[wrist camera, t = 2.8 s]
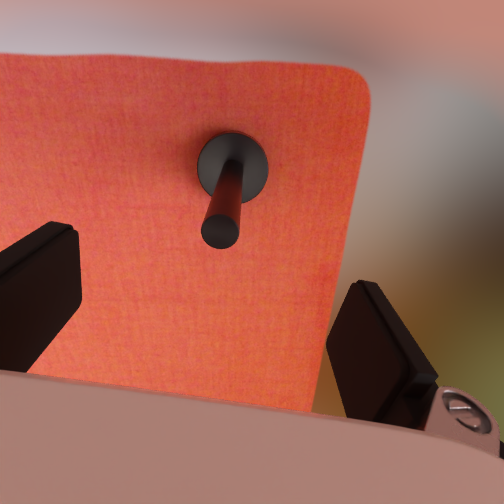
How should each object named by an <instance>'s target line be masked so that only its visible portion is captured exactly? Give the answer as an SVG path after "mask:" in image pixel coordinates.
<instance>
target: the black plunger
mask: <svg viewBox="0 0 504 504" xmlns="http://www.w3.org/2000/svg"><path fill="white" fill-rule="evenodd" d="M197 173H198V177H199V180H200V183H201V185H202V187H203V188H204V190H205V191H206V192H207V193H208V194H209V195H210V196H211V197H212V198H211V201H210V204H209V207H208V210H207V213H206V215H205V218H204V221H203V224H202V227H201V234H202V237H203V239H204V241H205V242H206V243H207V244H208V245H209V246H211V247H213V248H216V249H225V248H229V247H231V246H232V245H233V244H235V242H236V241H237V239H238V237H239V229H240V215H241V203H245V202H248V201H250V200H251V199H253V198H254V197H256V196H257V195H258V194H259V193H260V192H261V190H262V189H263V187H264V185H265V183H266V180H267V177H268V162H267V158H266V155H265V152H264V150H263V148H262V147H261V145H260V144H259V143H258V142H257V141H256V140H255V139H254V138H253V137H251V136H250V135H248V134H246V133H243V132H239V131H225V132H222V133H219V134H217V135H215V136H214V137H212V138H211V139H210V140H209V141H208V142H207V143H206V144H205V146H204V147H203V149H202V150H201V152H200V155H199V158H198V162H197Z"/></svg>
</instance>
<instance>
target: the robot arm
mask: <svg viewBox="0 0 504 504" xmlns="http://www.w3.org/2000/svg"><path fill="white" fill-rule="evenodd" d="M81 301H82V286H81V268H80V250H79V234H78V231H76V230H74V229H73V227H72V226H71V225H69V224H64V223H59V222H53V221H50V222H48V223H46V224H45V225H43V226H41V227H40V228H38V229H37V230H35V231H33V232H32V233H30V234H29V235H27V236H25V237H24V238H22V239H21V240H19V241H17V242H16V243H14V244H13V245H11V246H9V247H8V248H6V249H4V250H3V251H1V252H0V504H504V443H503V442H502V441H500V431H499V426H498V424H497V422H496V420H495V418H494V417H493V415H492V414H491V413H490V412H489V411H488V409H487V408H486V407H485V406H484V405H483V404H481V403H480V402H479V401H478V400H477V399H475V398H474V397H472V396H471V395H470V394H468V393H466V392H464V391H462V390H460V389H457V388H454V387H451V386H442V387H438V385H437V384H436V382H435V380H436V379H437V378H438V374H437V373H436V371H435V370H434V368H433V367H432V365H431V364H430V362H429V361H428V359H427V358H426V356H425V355H424V353H423V352H422V350H421V349H420V347H419V346H418V344H417V343H416V341H415V340H414V338H413V337H412V335H411V334H410V332H409V331H408V329H407V328H406V326H405V325H404V324H403V322H402V320H401V319H400V317H399V316H398V314H397V313H396V311H395V310H394V308H393V307H392V305H391V304H390V302H389V301H388V299H387V298H386V296H385V295H384V293H383V292H382V290H381V289H380V287H379V286H378V284H377V283H374V282H369V281H364V280H358V281H357V282H356V283H352V284H351V286H350V288H349V290H348V293H347V295H346V297H345V299H344V302H343V304H342V306H341V308H340V311H339V313H338V315H337V317H336V320H335V322H334V324H333V326H332V329H331V331H330V333H329V335H328V338H327V341H326V348H327V352H328V355H329V359H330V362H331V366H332V369H333V372H334V375H335V379H336V382H337V386H338V389H339V392H340V396H341V399H342V403H343V406H344V409H345V413H346V416H347V418H345V417H338V416H331V415H324V414H318V413H311V412H304V411H297V410H290V409H283V408H277V407H270V406H263V405H256V404H249V403H242V402H235V401H228V400H221V399H214V398H207V397H200V396H192V395H185V394H178V393H171V392H164V391H157V390H149V389H142V388H135V387H128V386H120V385H113V384H105V383H98V382H91V381H83V380H76V379H68V378H61V377H53V376H46V375H39V374H31V373H26V372H27V371H28V370H29V368H30V367H31V366H32V365H33V364H34V362H35V361H36V360H37V359H38V357H39V356H40V355H41V354H42V352H43V351H44V350H45V349H46V348H47V346H48V345H49V344H50V343H51V341H52V340H53V339H54V338H55V336H56V335H57V334H58V333H59V332H60V330H61V329H62V328H63V327H64V325H65V324H66V323H67V322H68V320H69V319H70V318H71V317H72V316H73V314H74V313H75V312H76V311H77V309H78V308H79V307H80V304H81Z"/></svg>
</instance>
